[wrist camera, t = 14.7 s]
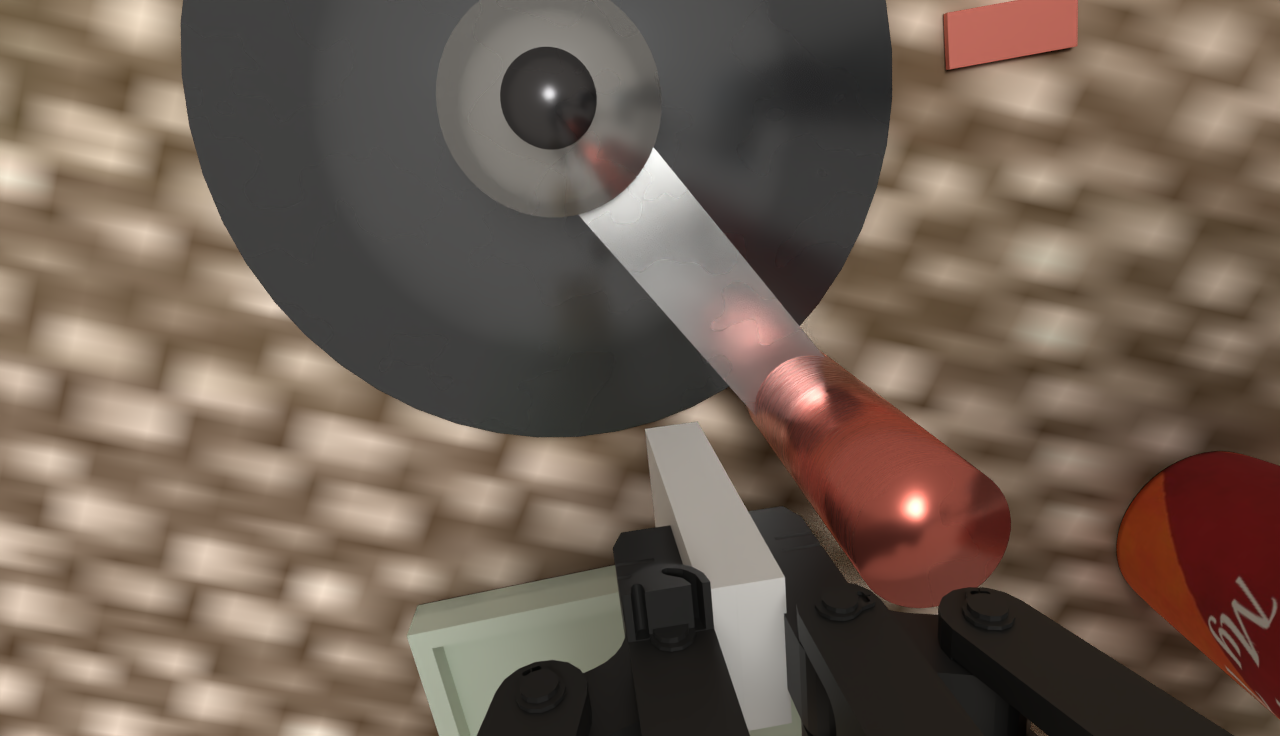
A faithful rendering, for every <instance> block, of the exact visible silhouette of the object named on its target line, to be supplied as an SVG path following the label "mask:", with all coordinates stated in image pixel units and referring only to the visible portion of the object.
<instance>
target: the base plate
mask: <svg viewBox="0 0 1280 736" xmlns="http://www.w3.org/2000/svg"><path fill="white" fill-rule="evenodd" d="M478 1H480V0H183V7H182V16H181V58H182V79H183V86H184V93H185V99H186V106H187V113H188V120H189V126H190V130H191V133H192V137H193V140H194V144H195V148H196V151H197V155H198V158H199V162H200V165H201V169H202V173H203V176H204V178H205V181H206V183H207V185H208V188H209V190H210V193H211V195H212V197H213V200H214V202H215V205H216V207H217V209H218V212H219V214H220V217H221V219H222V221H223V223H224V225H225V227H226V228H227V230H228V232H229V234H230V235H231V237H232V239H233V241H234V242H235V244H236V246H237V248H238V250H239V251H240V253H241V255H242V257H243V258H244V260H245V262H246V264H247V265H248V266H249V268H250V269H251V270H252V272H253V273H254V275H255V276H256V277H257V279H258V280H259V281H260V283H261V284H262V285H263V287H264V288H265V290H266V291H267V292H268V294H269V295H270V296H271V298H272V299H273V300H274V302H275V303H276V304H277V305H278V306H279V307H280V308H281V309H282V310H283V311H284V312H285V314H286V315H287V316H288V317H289V318H290V319H291V320H292V321H293V322H294V323H295V324H296V325H297V326H298V327H299V329H300V330H301V331H302V332H303V333H304V334H305V335H306V336H307V337H308V338H310V339H311V340H312V341H313V342H314V343H315V344H317V345H318V346H319V347H320V348H321V349H323V350H324V351H325V352H326V353H327V354H328V355H330V356H331V357H332V358H333V359H334V360H335V361H337V362H338V363H339V364H340V365H342V366H343V367H345V368H346V369H348V370H349V371H351V372H352V373H354V374H355V375H357V376H358V377H360V378H361V379H363V380H364V381H366V382H367V383H369V384H370V385H372V386H373V387H375V388H376V389H378V390H380V391H382V392H384V393H386V394H388V395H390V396H392V397H394V398H396V399H398V400H400V401H402V402H404V403H406V404H408V405H410V406H412V407H414V408H416V409H418V410H421V411H424V412H426V413H429V414H432V415H435V416H437V417H440V418H443V419H446V420H448V421H451V422H454V423H457V424H461V425H466V426H470V427H474V428H479V429H483V430H487V431H491V432H496V433H504V434H513V435H522V436H532V437H578V436H586V435H593V434H601V433H608V432H615V431H620V430H624V429H628V428H632V427H635V426H639V425H643V424H647V423H651V422H655V421H657V420H660V419H663V418H665V417H668V416H670V415H673V414H675V413H678V412H680V411H683V410H685V409H688V408H690V407H693V406H695V405H696V404H698V403H700V402H702V401H704V400H706V399H707V398H709V397H711V396H713V395H715V394H717V393H718V392H720V391H722V390H724V389H726V388H728V387H729V385H728V384H727V383H726V382H725V381H724V380H723V378H722V377H721V376H720V375H719V374H718V373H717V372H716V370H715V369H714V368H713V367H712V366H711V365H710V364H709V363H708V361H707V360H706V359H705V358H704V357H703V356H702V355H701V353H700V352H699V351H698V350H697V349H696V348H695V347H694V346H693V344H692V343H691V342H690V341H689V340H688V339H687V338H686V336H685V335H684V334H683V333H682V332H681V331H680V330H679V328H678V327H677V326H676V325H675V324H674V323H673V322H672V321H671V319H670V318H669V317H668V316H667V315H666V314H665V313H664V311H663V310H662V309H661V308H660V307H659V306H658V305H657V303H656V302H655V301H654V300H653V299H652V298H651V297H650V296H649V294H648V293H647V292H646V291H645V290H644V289H643V288H642V286H641V285H640V284H639V283H638V282H637V281H636V280H635V279H634V277H633V276H632V275H631V274H630V273H629V272H628V271H627V269H626V268H625V267H624V266H623V265H622V264H621V263H620V261H619V260H618V259H617V258H616V257H615V256H614V255H613V254H612V252H611V251H610V250H609V249H608V248H607V247H606V246H605V244H604V243H603V242H602V241H601V240H600V239H599V238H598V237H597V235H596V234H595V233H594V232H593V231H592V230H591V229H590V227H589V226H588V225H587V224H586V223H585V222H584V221H583V219H582V218H581V217H580V216H579V215H575V216H567V217H540V216H532V215H529V214H525V213H521V212H518V211H516V210H513V209H511V208H508V207H506V206H504V205H502V204H500V203H499V202H497V201H495V200H493V199H492V198H490V197H489V196H488V195H486V194H485V193H484V192H482V191H481V190H480V189H479V188H478V187H477V186H476V185H475V184H474V183H473V182H472V181H471V180H470V179H469V178H468V177H467V176H466V175H465V173H464V172H463V171H462V170H461V168H460V167H459V165H458V164H457V162H456V161H455V159H454V157H453V156H452V154H451V152H450V150H449V148H448V146H447V144H446V141H445V139H444V136H443V133H442V130H441V127H440V123H439V118H438V113H437V103H436V81H437V74H438V68H439V63H440V60H441V56H442V53H443V50H444V47H445V45H446V43H447V41H448V39H449V37H450V35H451V33H452V31H453V30H454V28H455V27H456V25H457V24H458V22H459V21H460V19H461V18H462V17H463V16H464V15H465V14H466V13H467V12H468V10H469V9H470V8H471V7H473V6H474V5H475V4H476V3H477V2H478ZM610 1H611V2H613V3H614V4H615V5H616V6H617V7H619V8H620V9H621V10H622V11H623V12H624V13H625V14H626V15H627V16H628V17H629V18H630V20H631V21H632V22H633V23H634V24H635V26H636V27H637V28H638V30H639V31H640V33H641V34H642V36H643V37H644V39H645V41H646V43H647V45H648V47H649V49H650V51H651V53H652V56H653V59H654V61H655V64H656V67H657V71H658V76H659V80H660V87H661V96H662V103H661V119H660V126H659V131H658V134H657V138H656V142H655V145H654V149H655V150H656V151H657V152H658V153H659V155H660V156H661V157H662V158H663V160H664V161H665V162H666V163H667V164H668V166H669V167H670V168H671V169H672V171H673V172H674V173H675V174H676V175H677V177H678V178H679V179H680V180H681V182H682V183H683V184H684V185H685V187H686V188H687V189H688V190H689V191H690V193H691V194H692V195H693V196H694V198H695V199H696V200H697V201H698V202H699V204H700V205H701V206H702V207H703V209H704V210H705V211H706V212H707V213H708V215H709V216H710V217H711V218H712V220H713V221H714V222H715V223H716V225H717V226H718V227H719V228H720V229H721V231H722V232H723V233H724V234H725V236H726V237H727V238H728V239H729V240H730V242H731V243H732V244H733V245H734V247H735V248H736V249H737V250H738V251H739V253H740V254H741V255H742V256H743V258H744V259H745V260H746V261H747V263H748V264H749V265H750V266H751V267H752V269H753V270H754V271H755V272H756V274H757V275H758V276H759V277H760V278H761V280H762V281H763V282H764V283H765V285H766V286H767V287H768V288H769V289H770V291H771V292H772V293H773V294H774V296H775V297H776V298H777V299H778V301H779V302H780V303H781V304H782V305H783V307H784V308H785V309H786V310H787V312H788V313H789V314H790V315H791V316H792V318H793V319H794V320H795V321H796V323H797V324H798V325H799V326H800V325H801V324H802V323H803V321H804V320H805V319H806V318H807V317H808V316H809V314H810V313H811V312H812V311H813V310H814V309H815V307H816V306H817V305H818V304H819V302H820V301H821V299H822V298H823V296H824V295H825V293H826V292H827V290H828V289H829V287H830V286H831V284H832V283H833V281H834V280H835V278H836V277H837V275H838V274H839V272H840V271H841V269H842V267H843V265H844V263H845V261H846V259H847V257H848V255H849V253H850V251H851V249H852V247H853V245H854V243H855V241H856V240H857V238H858V236H859V234H860V232H861V229H862V227H863V224H864V221H865V218H866V216H867V213H868V210H869V207H870V205H871V202H872V199H873V196H874V194H875V191H876V188H877V184H878V179H879V175H880V171H881V167H882V163H883V158H884V154H885V150H886V146H887V138H888V129H889V121H890V112H891V103H892V48H891V40H890V32H889V23H888V15H887V7H886V1H885V0H610ZM500 102H501V108H502V112H503V115H504V117H505V120H506V121H507V123H508V125H509V126H510V128H511V129H512V130H513V132H514V133H515V134H516V135H517V136H518V137H519V138H521V139H522V140H523V141H525V142H527V143H528V144H530V145H532V146H535V147H537V148H541V149H546V150H558V149H563V148H566V147H568V146H571V145H573V144H574V143H576V142H577V141H578V140H580V139H581V138H582V137H583V136H584V135H585V133H586V132H587V131H588V129H589V127H590V126H591V123H592V121H593V118H594V116H595V112H596V106H597V95H596V88H595V84H594V82H593V79H592V77H591V75H590V73H589V71H588V70H587V68H586V67H585V65H584V64H583V63H582V62H581V61H580V60H579V59H578V58H576V57H575V56H574V55H572V54H571V53H569V52H567V51H565V50H562V49H559V48H555V47H537V48H533V49H531V50H528V51H526V52H524V53H522V54H521V55H520V56H518V57H517V58H516V59H515V60H514V61H513V62H512V63H511V64H510V66H509V67H508V69H507V70H506V72H505V74H504V77H503V80H502V84H501V89H500Z"/></svg>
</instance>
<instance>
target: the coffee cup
mask: <svg viewBox="0 0 1280 736" xmlns="http://www.w3.org/2000/svg"><path fill="white" fill-rule="evenodd" d="M1117 560H1118V564H1119V568H1120V570H1121V573H1122V575H1123V577H1124V578H1125V580H1126V581H1127V583H1128V584H1129V585H1130V586H1131V587H1132V589H1133V590H1134V591H1135V592H1136V593H1137V594H1138V595H1139V596H1140V597H1141V598H1142V599H1144V600H1145V601H1146V602H1147V603H1148V604H1149V605H1150V606H1151V607H1152V608H1153V609H1154V610H1155V611H1156V612H1157V613H1159V614H1160V615H1161V616H1162V617H1163V618H1164V619H1165V620H1166V621H1167V622H1169V623H1170V624H1171V625H1172V626H1173V627H1174V628H1175V629H1176V630H1177V631H1179V632H1180V633H1181V634H1182V635H1183V636H1184V637H1185V638H1187V639H1188V640H1189V641H1190V642H1191V643H1192V644H1193V645H1195V646H1196V647H1197V648H1198V649H1199V650H1200V651H1201V652H1203V653H1204V654H1205V655H1206V656H1207V657H1208V658H1209V659H1211V660H1212V661H1213V662H1214V663H1215V664H1216V665H1217V666H1219V667H1220V668H1221V669H1222V670H1223V671H1224V672H1225V673H1227V674H1228V675H1229V676H1230V677H1231V678H1232V679H1233V680H1235V681H1236V682H1237V683H1238V684H1239V685H1240V686H1241V687H1243V688H1244V689H1245V690H1246V691H1247V692H1248V693H1250V694H1251V695H1252V696H1253V697H1254V698H1255V699H1256V700H1258V701H1259V702H1260V703H1261V704H1262V705H1263V706H1265V707H1266V708H1267V709H1268V710H1269V711H1270V712H1271V713H1273V714H1274V715H1275V716H1276V717H1277V718H1278V719H1280V466H1278V465H1275V464H1272V463H1269V462H1266V461H1263V460H1260V459H1257V458H1253V457H1250V456H1247V455H1243V454H1238V453H1234V452H1225V451H1215V452H1206V453H1201V454H1197V455H1194V456H1191V457H1188V458H1185V459H1183V460H1181V461H1179V462H1176V463H1175V464H1173V465H1171V466H1169V467H1168V468H1166V469H1164V470H1163V471H1162V472H1160V473H1159V474H1158V475H1156V476H1155V477H1154V478H1153V479H1152V480H1150V481H1149V482H1148V483H1147V484H1146V485H1145V486H1144V487H1143V488H1142V490H1141V491H1140V492H1139V493H1138V494H1137V496H1136V497H1135V498H1134V500H1133V501H1132V503H1131V504H1130V506H1129V508H1128V509H1127V511H1126V513H1125V515H1124V517H1123V520H1122V522H1121V525H1120V529H1119V533H1118V538H1117Z"/></svg>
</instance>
